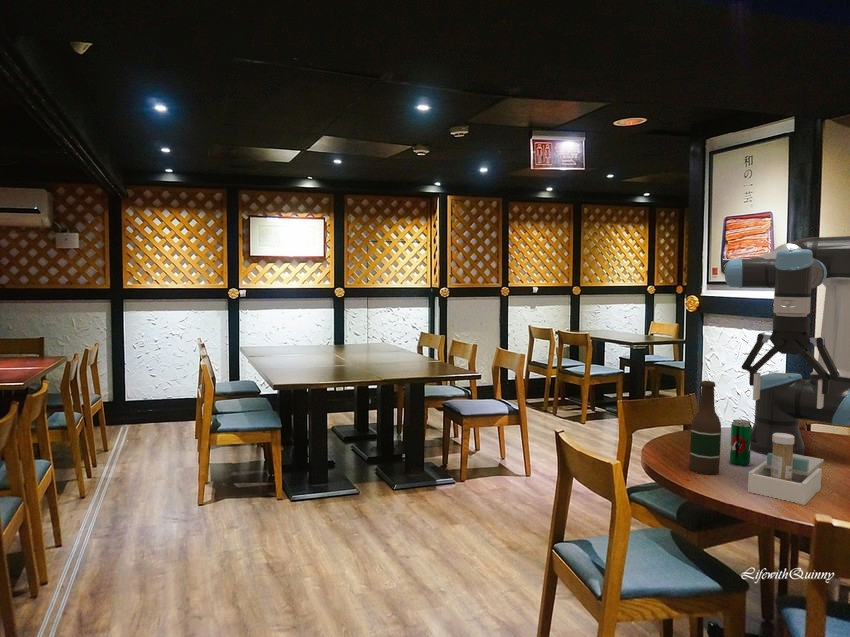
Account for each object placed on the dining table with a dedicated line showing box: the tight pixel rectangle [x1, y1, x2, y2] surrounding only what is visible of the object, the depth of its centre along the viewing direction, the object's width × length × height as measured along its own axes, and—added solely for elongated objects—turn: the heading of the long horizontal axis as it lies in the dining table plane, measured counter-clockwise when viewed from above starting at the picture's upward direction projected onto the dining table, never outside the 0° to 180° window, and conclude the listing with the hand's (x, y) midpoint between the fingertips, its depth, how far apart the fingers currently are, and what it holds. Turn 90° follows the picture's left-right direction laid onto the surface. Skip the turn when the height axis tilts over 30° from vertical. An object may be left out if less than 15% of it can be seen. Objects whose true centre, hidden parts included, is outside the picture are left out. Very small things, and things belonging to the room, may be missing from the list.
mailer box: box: [747, 459, 823, 506], centre depth 153 cm, size 16×12×5 cm
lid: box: [764, 453, 825, 476], centre depth 159 cm, size 16×10×3 cm, turn 137°
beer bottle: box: [689, 380, 722, 476], centre depth 168 cm, size 8×8×24 cm
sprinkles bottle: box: [771, 433, 794, 482], centre depth 151 cm, size 5×5×13 cm
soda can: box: [729, 418, 753, 467], centre depth 175 cm, size 5×5×12 cm
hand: (787, 403), depth 151 cm, fingers open, 13 cm apart
